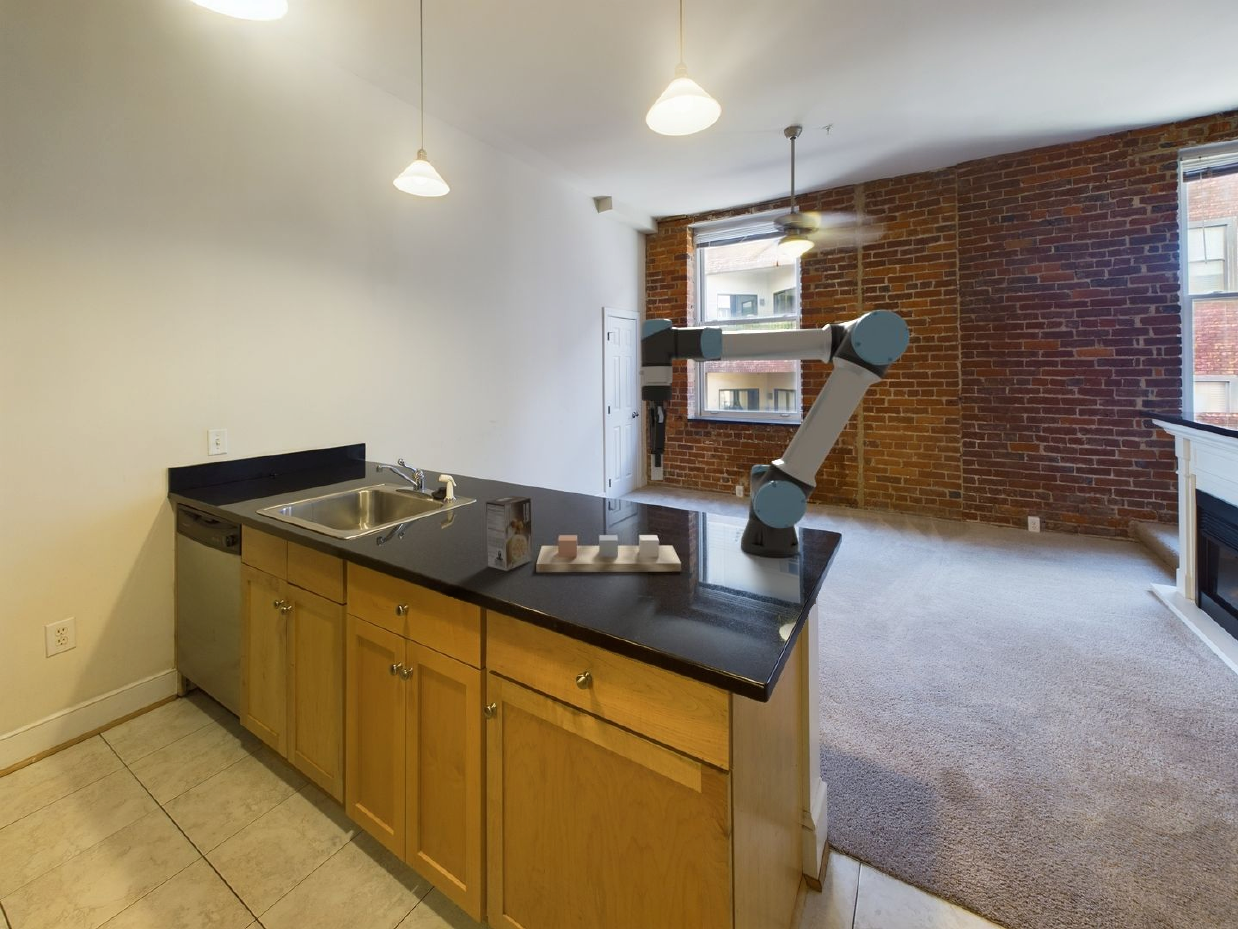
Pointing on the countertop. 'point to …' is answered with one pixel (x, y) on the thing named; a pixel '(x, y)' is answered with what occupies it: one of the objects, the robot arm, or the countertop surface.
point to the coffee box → (509, 532)
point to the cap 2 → (648, 546)
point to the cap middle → (608, 546)
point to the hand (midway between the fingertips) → (657, 479)
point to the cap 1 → (567, 546)
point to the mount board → (607, 560)
